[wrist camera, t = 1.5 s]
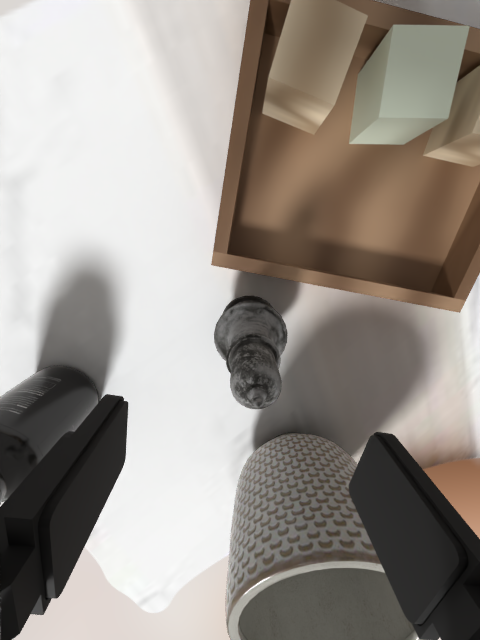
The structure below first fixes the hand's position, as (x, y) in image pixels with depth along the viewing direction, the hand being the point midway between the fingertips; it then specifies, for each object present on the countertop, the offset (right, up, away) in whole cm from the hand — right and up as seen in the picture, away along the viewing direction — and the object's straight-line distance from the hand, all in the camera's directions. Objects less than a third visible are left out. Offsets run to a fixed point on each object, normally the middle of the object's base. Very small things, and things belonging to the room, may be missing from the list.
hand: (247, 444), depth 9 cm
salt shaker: (+1, +4, +14) cm, 14 cm away
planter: (+6, -11, +19) cm, 22 cm away
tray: (+9, +15, +10) cm, 20 cm away
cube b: (+10, +20, +8) cm, 23 cm away
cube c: (+4, +21, +7) cm, 22 cm away
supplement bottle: (-18, -3, +16) cm, 24 cm away
